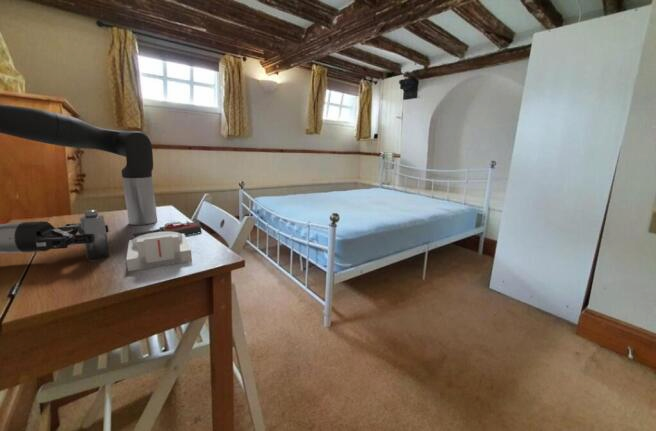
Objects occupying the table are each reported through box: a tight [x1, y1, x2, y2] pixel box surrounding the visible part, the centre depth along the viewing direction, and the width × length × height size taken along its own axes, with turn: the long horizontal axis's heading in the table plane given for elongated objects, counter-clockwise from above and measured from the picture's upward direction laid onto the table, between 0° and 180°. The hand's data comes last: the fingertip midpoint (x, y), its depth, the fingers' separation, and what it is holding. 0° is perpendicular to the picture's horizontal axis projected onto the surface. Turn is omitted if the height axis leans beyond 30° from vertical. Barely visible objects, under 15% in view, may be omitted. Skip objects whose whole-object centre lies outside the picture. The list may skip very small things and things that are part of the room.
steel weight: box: [79, 209, 111, 261], centre depth 77 cm, size 5×5×13 cm
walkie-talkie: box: [132, 220, 202, 237], centre depth 98 cm, size 9×4×20 cm
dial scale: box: [126, 232, 193, 272], centre depth 79 cm, size 17×14×8 cm
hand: (100, 233), depth 77 cm, fingers open, 8 cm apart
